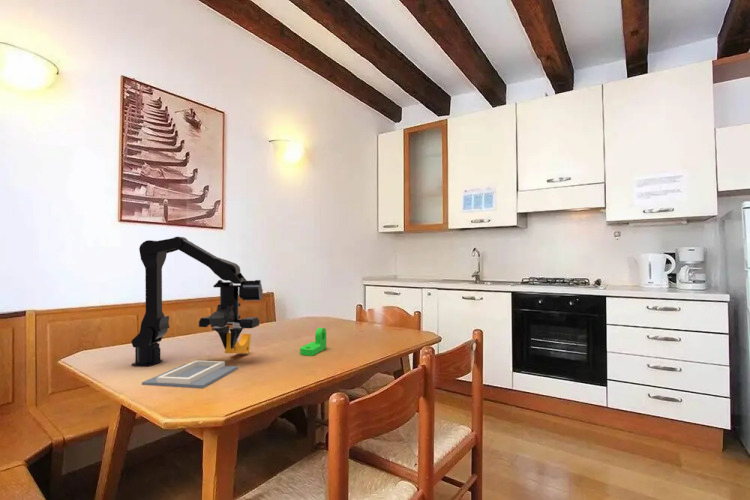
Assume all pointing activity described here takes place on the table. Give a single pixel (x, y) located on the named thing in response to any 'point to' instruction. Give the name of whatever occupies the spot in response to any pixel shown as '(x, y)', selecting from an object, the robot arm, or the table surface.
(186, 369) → the jig board
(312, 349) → the mechanical part
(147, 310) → the robot arm
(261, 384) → the table surface
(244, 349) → the pipe clamp
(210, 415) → the table surface
